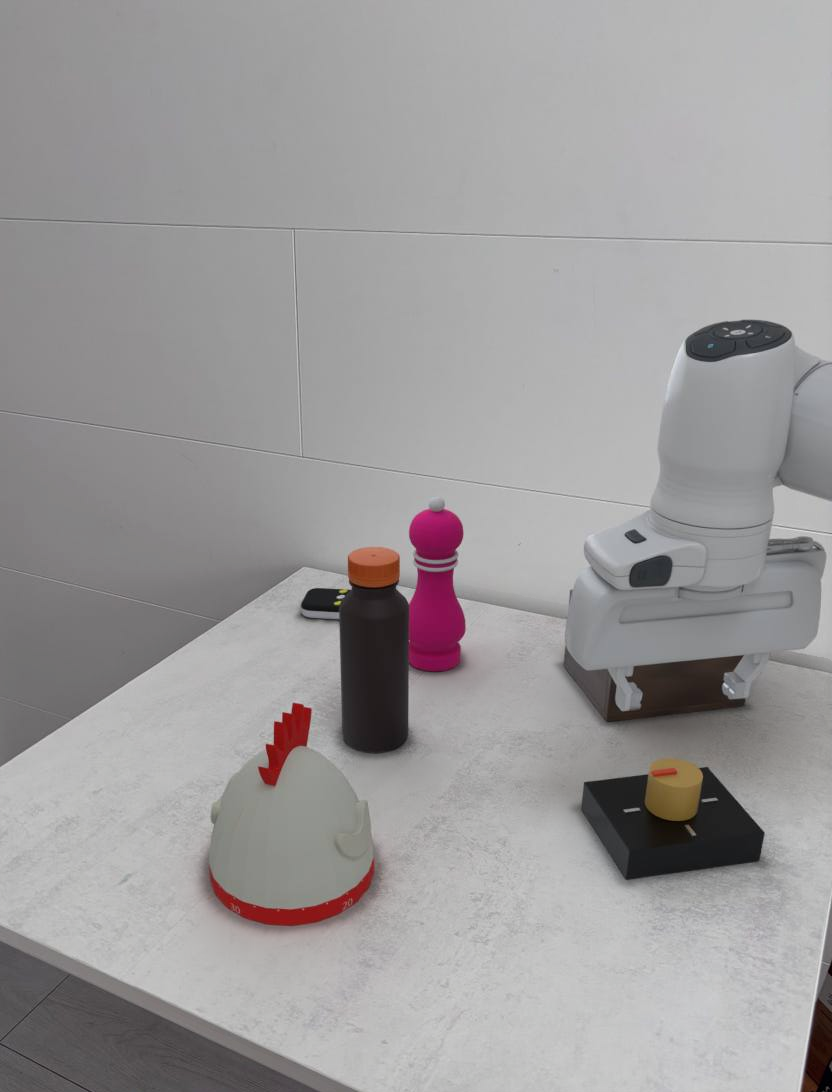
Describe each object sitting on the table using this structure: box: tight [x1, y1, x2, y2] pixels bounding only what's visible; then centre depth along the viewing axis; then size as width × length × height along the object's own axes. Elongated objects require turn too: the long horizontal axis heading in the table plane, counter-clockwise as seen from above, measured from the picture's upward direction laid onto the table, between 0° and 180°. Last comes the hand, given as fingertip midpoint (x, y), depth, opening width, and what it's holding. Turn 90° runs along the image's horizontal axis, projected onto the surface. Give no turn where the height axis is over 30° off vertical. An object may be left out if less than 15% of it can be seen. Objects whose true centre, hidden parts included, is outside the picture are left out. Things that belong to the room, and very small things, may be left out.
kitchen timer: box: [208, 702, 375, 927], centre depth 84 cm, size 14×14×15 cm
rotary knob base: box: [580, 766, 766, 880], centre depth 90 cm, size 12×10×3 cm
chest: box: [563, 596, 747, 723], centre depth 112 cm, size 16×13×9 cm
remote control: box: [300, 587, 352, 620], centre depth 132 cm, size 6×13×2 cm, turn 80°
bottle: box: [338, 546, 410, 753], centre depth 101 cm, size 7×7×20 cm
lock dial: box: [645, 757, 703, 821], centre depth 88 cm, size 4×4×4 cm
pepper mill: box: [408, 495, 467, 672], centre depth 116 cm, size 7×7×20 cm
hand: (681, 701), depth 84 cm, fingers open, 8 cm apart
